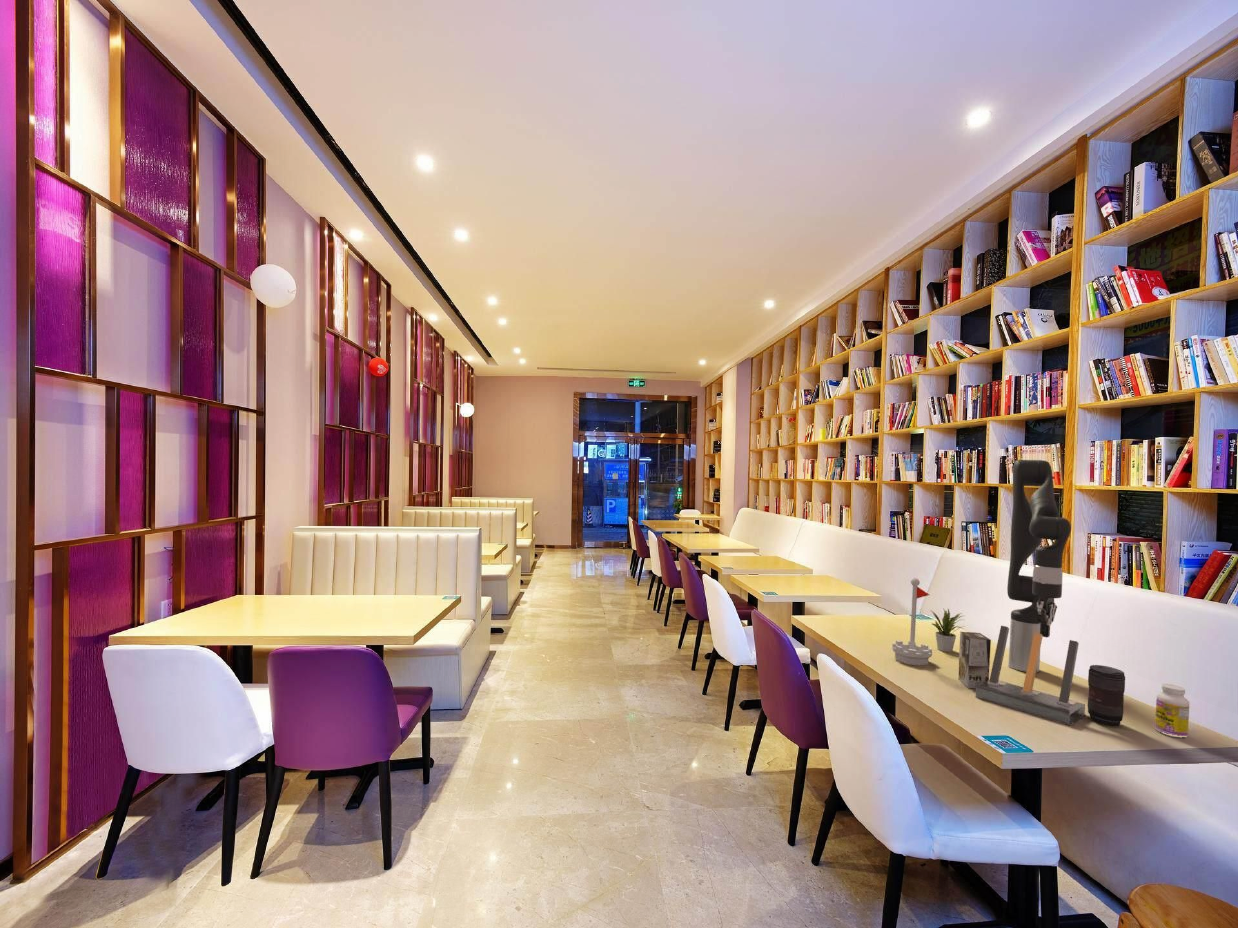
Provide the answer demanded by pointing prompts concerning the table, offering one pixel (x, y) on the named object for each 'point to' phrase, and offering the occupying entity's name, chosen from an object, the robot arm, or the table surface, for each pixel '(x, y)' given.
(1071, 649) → the lever high
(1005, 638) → the lever low
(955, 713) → the table surface
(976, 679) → the coffee box
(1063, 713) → the breaker panel
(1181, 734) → the supplement bottle
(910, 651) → the flag stand
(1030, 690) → the lever mid
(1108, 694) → the camera lens
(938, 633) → the house plant
